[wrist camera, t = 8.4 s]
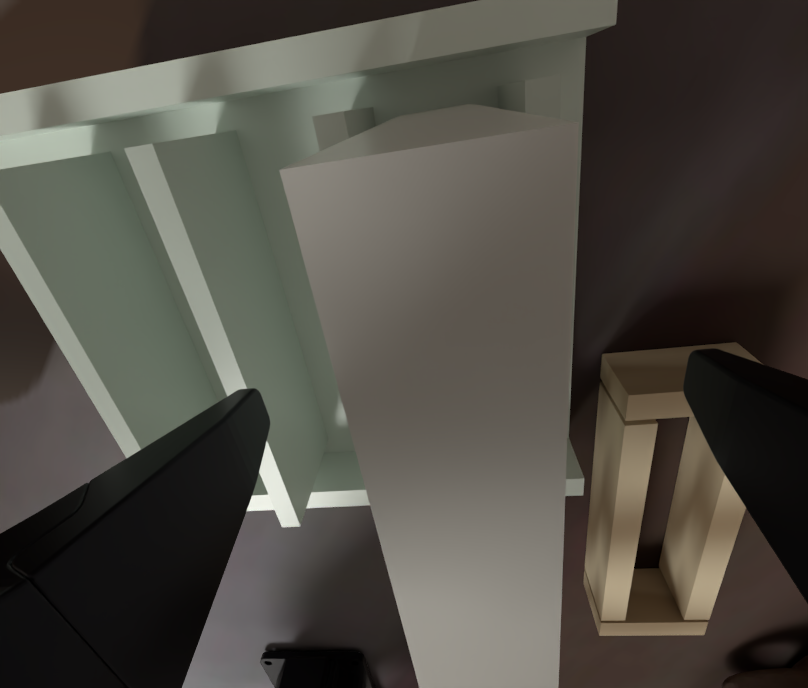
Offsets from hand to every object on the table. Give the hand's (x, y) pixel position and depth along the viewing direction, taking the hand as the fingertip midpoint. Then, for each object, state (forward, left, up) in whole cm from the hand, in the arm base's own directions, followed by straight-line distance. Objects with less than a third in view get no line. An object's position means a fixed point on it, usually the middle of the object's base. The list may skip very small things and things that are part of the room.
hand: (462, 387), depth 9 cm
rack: (0, +5, -6) cm, 8 cm away
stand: (-10, -7, -6) cm, 14 cm away
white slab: (0, 0, -5) cm, 5 cm away
